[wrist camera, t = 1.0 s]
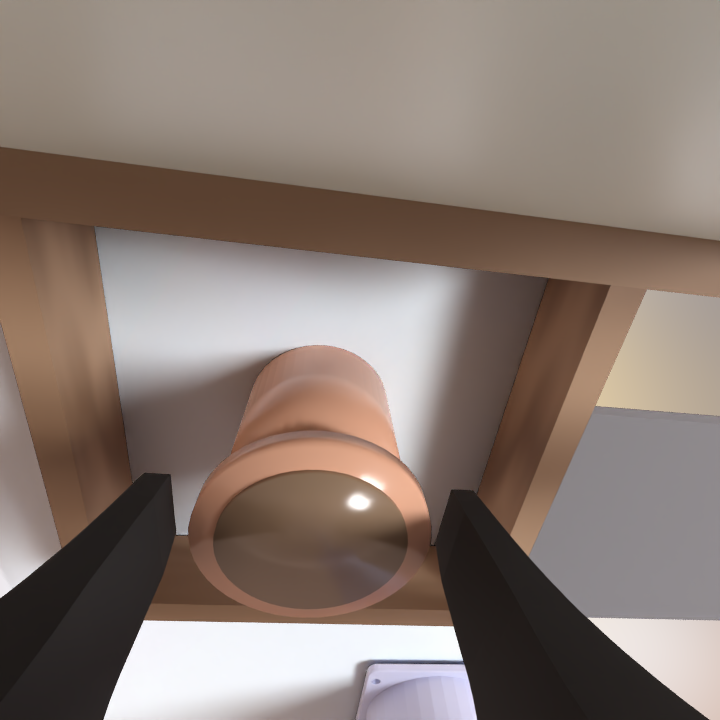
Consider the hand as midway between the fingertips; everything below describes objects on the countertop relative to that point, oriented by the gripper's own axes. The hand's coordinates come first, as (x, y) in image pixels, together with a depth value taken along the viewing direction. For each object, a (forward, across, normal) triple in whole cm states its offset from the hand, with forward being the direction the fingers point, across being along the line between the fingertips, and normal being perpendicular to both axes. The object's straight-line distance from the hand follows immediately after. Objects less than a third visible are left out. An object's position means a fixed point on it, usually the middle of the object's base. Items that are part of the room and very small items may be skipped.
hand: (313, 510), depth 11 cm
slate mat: (+5, -16, +5) cm, 17 cm away
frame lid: (-9, 0, -10) cm, 13 cm away
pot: (+5, 0, 0) cm, 5 cm away
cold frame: (+5, 0, 0) cm, 5 cm away
